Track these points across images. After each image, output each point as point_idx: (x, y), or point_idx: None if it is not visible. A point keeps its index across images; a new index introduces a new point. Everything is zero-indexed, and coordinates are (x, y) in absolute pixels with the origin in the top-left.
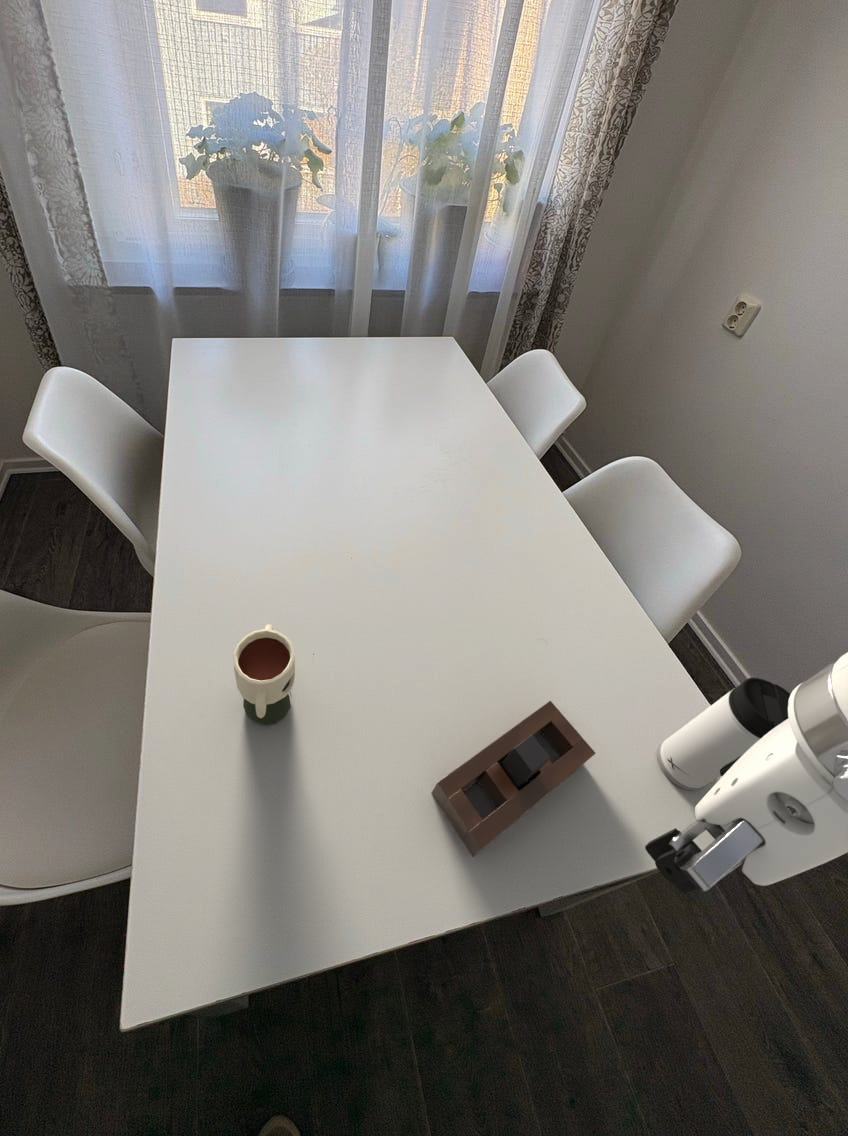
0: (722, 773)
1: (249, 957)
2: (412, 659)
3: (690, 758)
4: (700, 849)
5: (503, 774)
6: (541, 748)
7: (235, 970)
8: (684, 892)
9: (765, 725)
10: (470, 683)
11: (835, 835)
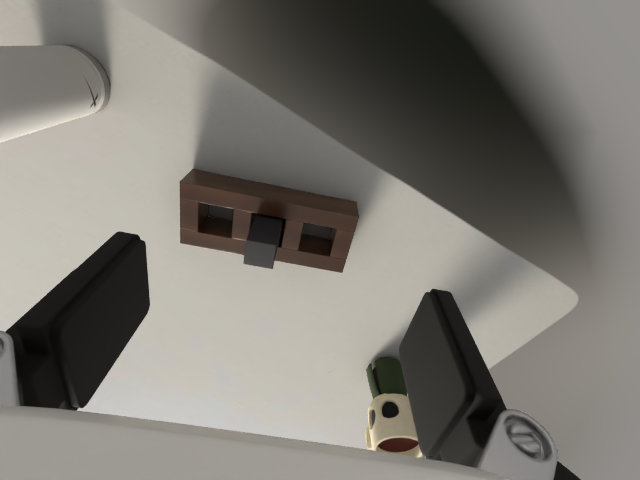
0: (145, 312)
1: (524, 274)
2: (263, 327)
3: (70, 100)
4: (461, 464)
5: (286, 237)
6: (247, 250)
7: (536, 275)
8: (450, 294)
9: None
10: (233, 285)
11: None
